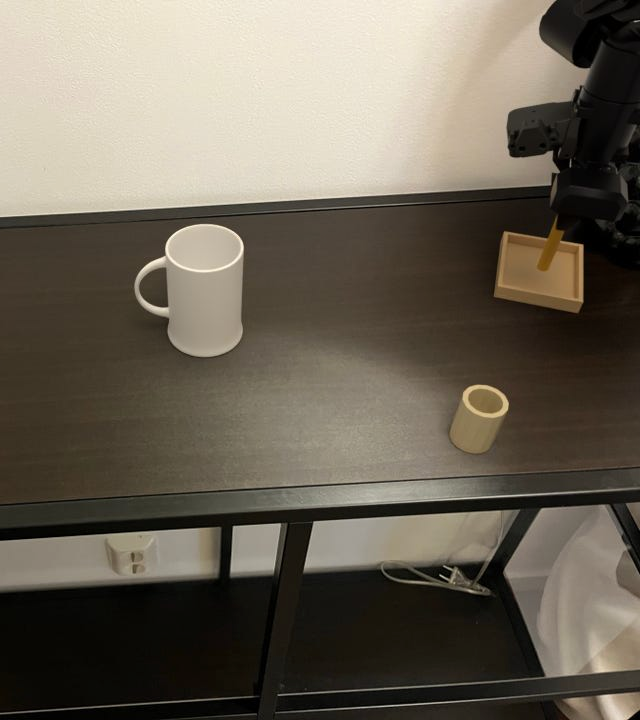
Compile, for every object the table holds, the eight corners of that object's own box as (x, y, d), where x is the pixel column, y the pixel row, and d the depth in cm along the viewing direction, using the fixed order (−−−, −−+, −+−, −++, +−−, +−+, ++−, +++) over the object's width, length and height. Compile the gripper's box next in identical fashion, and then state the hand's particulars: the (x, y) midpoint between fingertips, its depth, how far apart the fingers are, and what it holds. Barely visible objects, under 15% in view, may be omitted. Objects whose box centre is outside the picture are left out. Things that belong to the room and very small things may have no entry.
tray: (500, 242, 94) (504, 231, 92) (578, 255, 91) (583, 244, 90) (493, 297, 87) (497, 286, 85) (577, 313, 84) (583, 302, 83)
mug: (136, 357, 83) (127, 273, 74) (142, 305, 89) (135, 222, 80) (243, 358, 82) (247, 273, 73) (242, 306, 88) (245, 222, 79)
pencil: (548, 265, 86) (577, 195, 80) (548, 272, 86) (577, 202, 79) (536, 263, 87) (564, 193, 80) (536, 270, 86) (564, 200, 79)
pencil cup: (493, 427, 74) (509, 390, 70) (490, 458, 71) (507, 422, 67) (451, 417, 75) (465, 380, 71) (446, 447, 72) (460, 411, 68)
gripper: (529, 40, 79) (490, 170, 90) (519, 125, 67) (475, 262, 78) (647, 52, 76) (591, 185, 87) (658, 143, 64) (591, 283, 75)
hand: (560, 225), depth 82 cm, fingers closed on pencil, 1 cm apart
